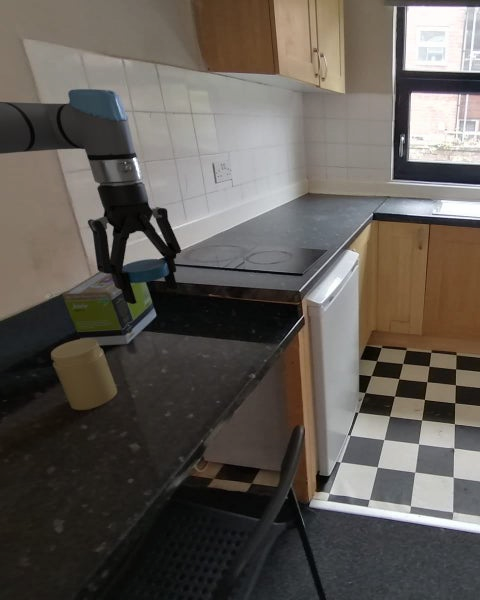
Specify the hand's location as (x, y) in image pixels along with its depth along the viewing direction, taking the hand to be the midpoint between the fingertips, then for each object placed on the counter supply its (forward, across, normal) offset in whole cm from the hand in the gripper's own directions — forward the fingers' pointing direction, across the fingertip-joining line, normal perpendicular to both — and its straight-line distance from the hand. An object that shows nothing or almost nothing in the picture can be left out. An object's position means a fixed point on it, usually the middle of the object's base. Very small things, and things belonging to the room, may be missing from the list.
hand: (152, 294), depth 84 cm
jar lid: (-6, 0, 0) cm, 6 cm away
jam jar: (+15, -16, -2) cm, 22 cm away
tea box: (+15, 0, +18) cm, 24 cm away
